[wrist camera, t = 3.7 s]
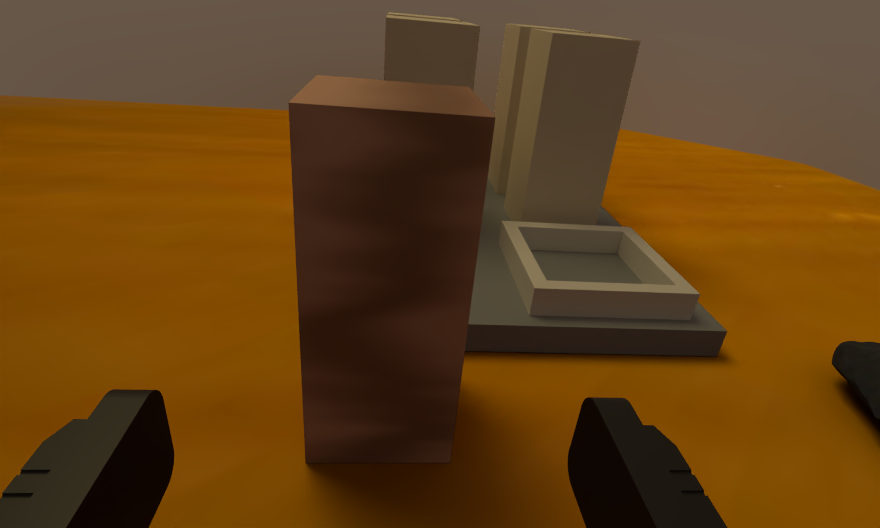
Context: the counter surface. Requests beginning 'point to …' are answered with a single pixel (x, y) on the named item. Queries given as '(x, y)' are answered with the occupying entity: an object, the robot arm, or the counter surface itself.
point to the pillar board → (555, 197)
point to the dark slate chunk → (861, 371)
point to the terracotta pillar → (385, 262)
